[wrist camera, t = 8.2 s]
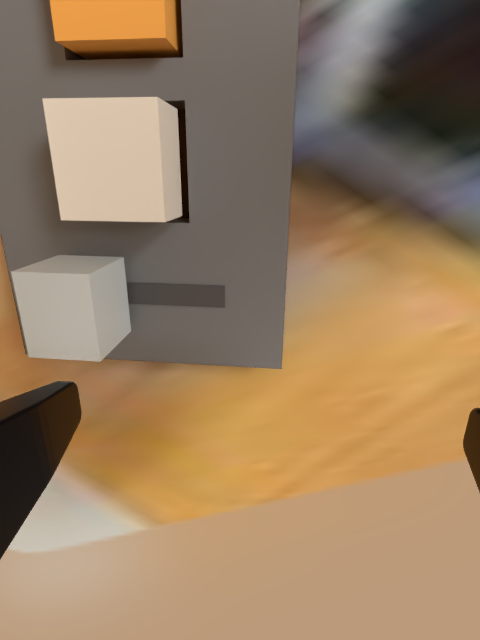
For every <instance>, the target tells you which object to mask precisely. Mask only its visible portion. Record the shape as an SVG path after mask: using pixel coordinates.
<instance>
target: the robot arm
mask: <svg viewBox="0 0 480 640" xmlns="http://www.w3.org/2000/svg"><path fill="white" fill-rule="evenodd" d="M80 420H81V405H80V399H79V393H78V388H77V385H76V384H75V383H74V382H66V381H57V382H54V383H51V384H48V385H45V386H43V387H40V388H37V389H34V390H32V391H29V392H26V393H23V394H21V395H18V396H15V397H12V398H10V399H7V400H4V401H1V402H0V559H1V557H2V556H3V554H4V553H5V551H6V550H7V548H8V546H9V545H10V543H11V542H12V540H13V538H14V537H15V535H16V534H17V532H18V531H19V529H20V527H21V526H22V524H23V523H24V521H25V519H26V518H27V516H28V515H29V513H30V512H31V510H32V508H33V507H34V505H35V504H36V502H37V501H38V499H39V497H40V496H41V494H42V493H43V491H44V489H45V488H46V486H47V485H48V483H49V481H50V480H51V478H52V476H53V474H54V472H55V471H56V469H57V467H58V465H59V463H60V461H61V459H62V457H63V455H64V453H65V451H66V449H67V447H68V445H69V443H70V441H71V439H72V437H73V435H74V433H75V431H76V429H77V427H78V425H79V423H80ZM463 447H464V451H465V454H466V457H467V460H468V462H469V465H470V468H471V470H472V473H473V475H474V478H475V481H476V484H477V487H478V489H479V492H480V408H475V409H473V410H472V411H471V413H470V415H469V419H468V423H467V427H466V431H465V435H464V439H463Z"/></svg>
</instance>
